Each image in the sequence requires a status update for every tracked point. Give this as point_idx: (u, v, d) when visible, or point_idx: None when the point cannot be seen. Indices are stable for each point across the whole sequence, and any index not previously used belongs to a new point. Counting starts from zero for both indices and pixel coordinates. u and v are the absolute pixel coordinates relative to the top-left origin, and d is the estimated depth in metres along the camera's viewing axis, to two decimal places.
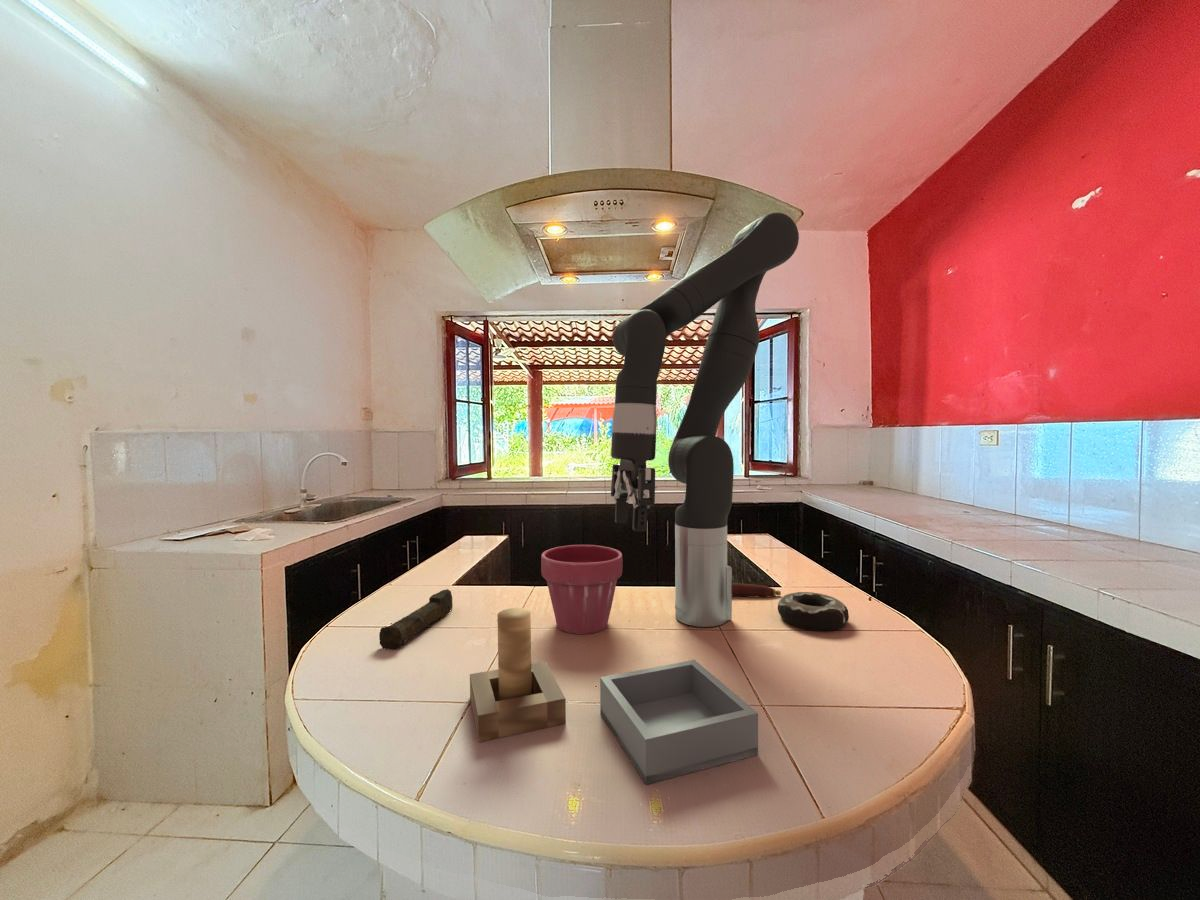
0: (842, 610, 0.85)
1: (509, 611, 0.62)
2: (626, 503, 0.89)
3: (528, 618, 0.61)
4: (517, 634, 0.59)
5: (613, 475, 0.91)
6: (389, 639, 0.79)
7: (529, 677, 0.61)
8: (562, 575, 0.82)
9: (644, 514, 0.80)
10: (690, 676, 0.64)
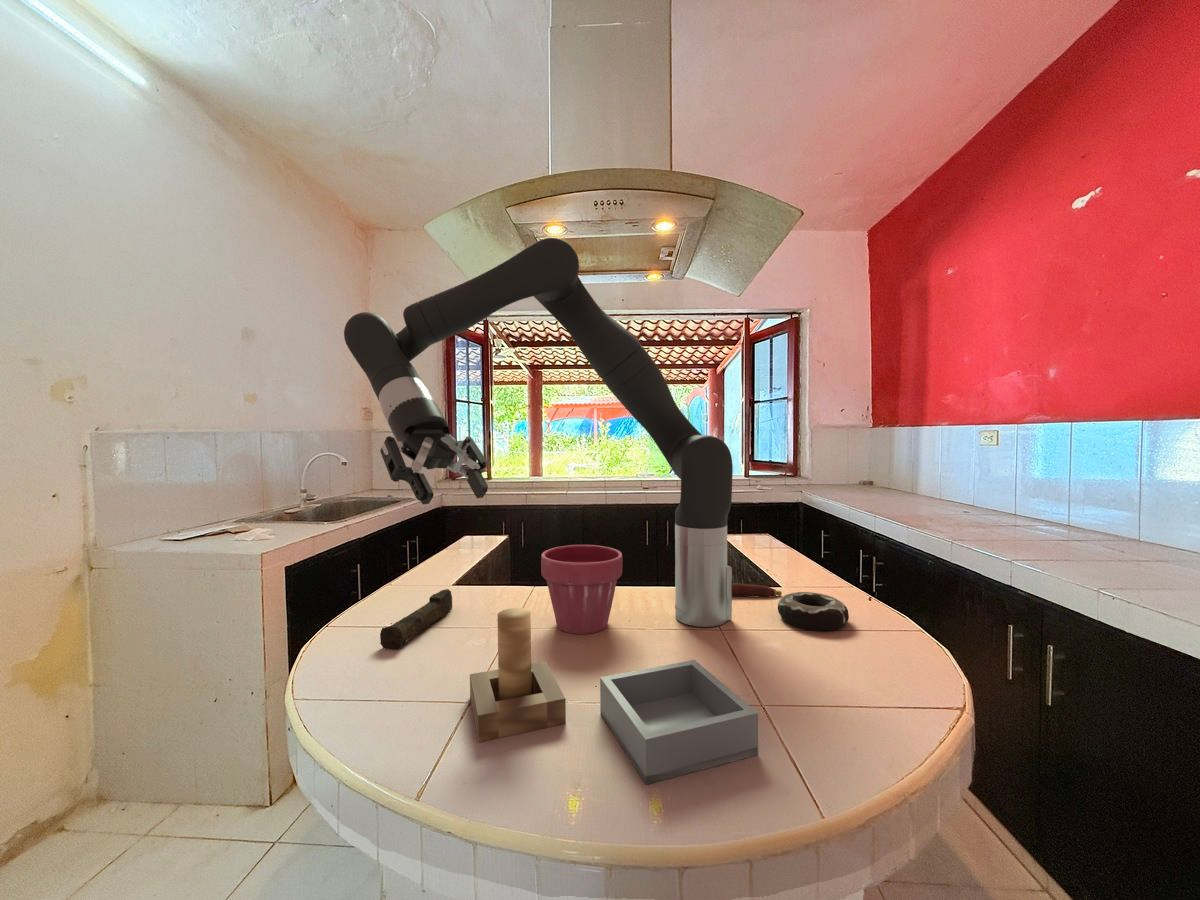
0: (842, 611, 0.85)
1: (509, 611, 0.62)
2: (472, 473, 0.72)
3: (528, 618, 0.61)
4: (517, 634, 0.59)
5: None
6: (390, 640, 0.79)
7: (529, 677, 0.61)
8: (562, 575, 0.82)
9: (414, 482, 0.65)
10: (690, 676, 0.64)
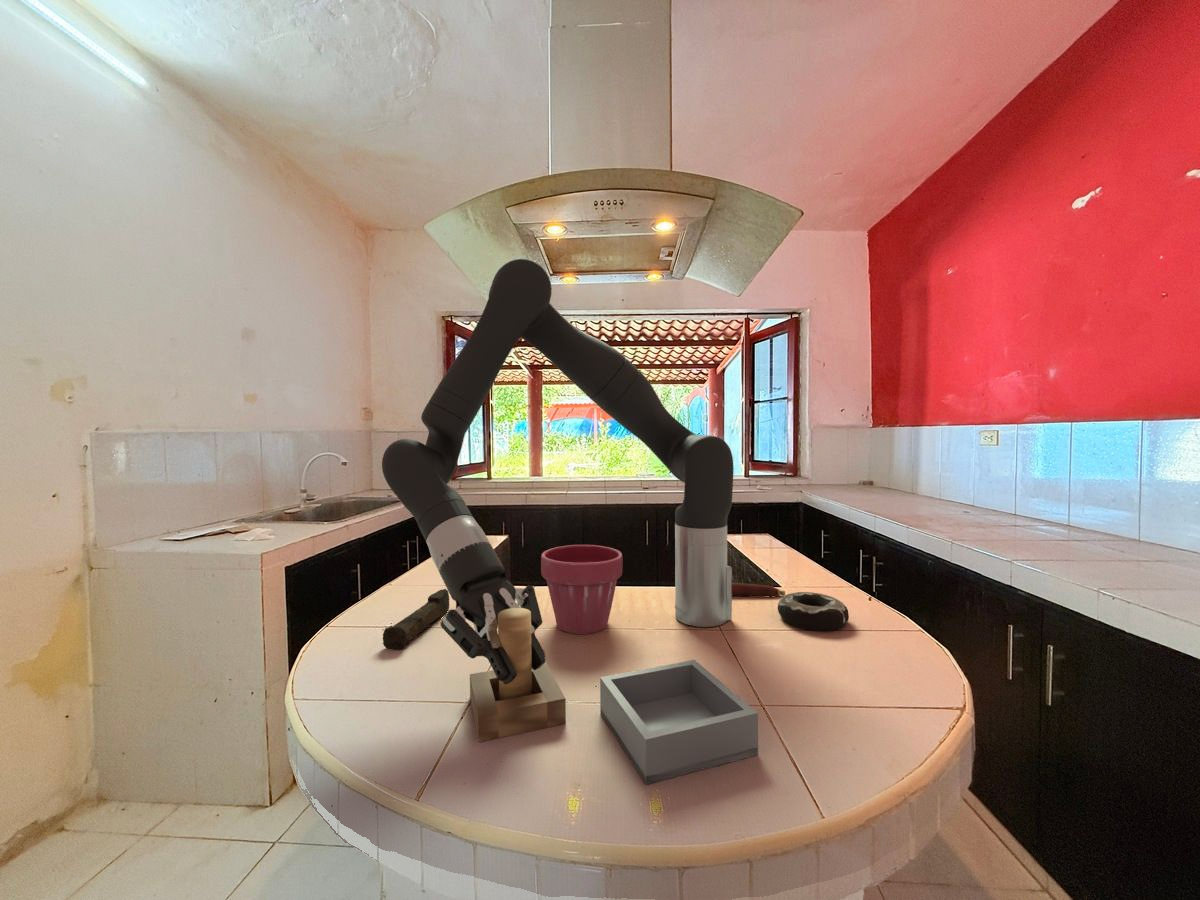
0: (842, 610, 0.85)
1: (509, 611, 0.62)
2: None
3: (528, 618, 0.61)
4: (517, 634, 0.59)
5: (523, 607, 0.68)
6: (393, 640, 0.79)
7: (529, 677, 0.61)
8: (562, 575, 0.82)
9: (494, 660, 0.59)
10: (690, 676, 0.64)
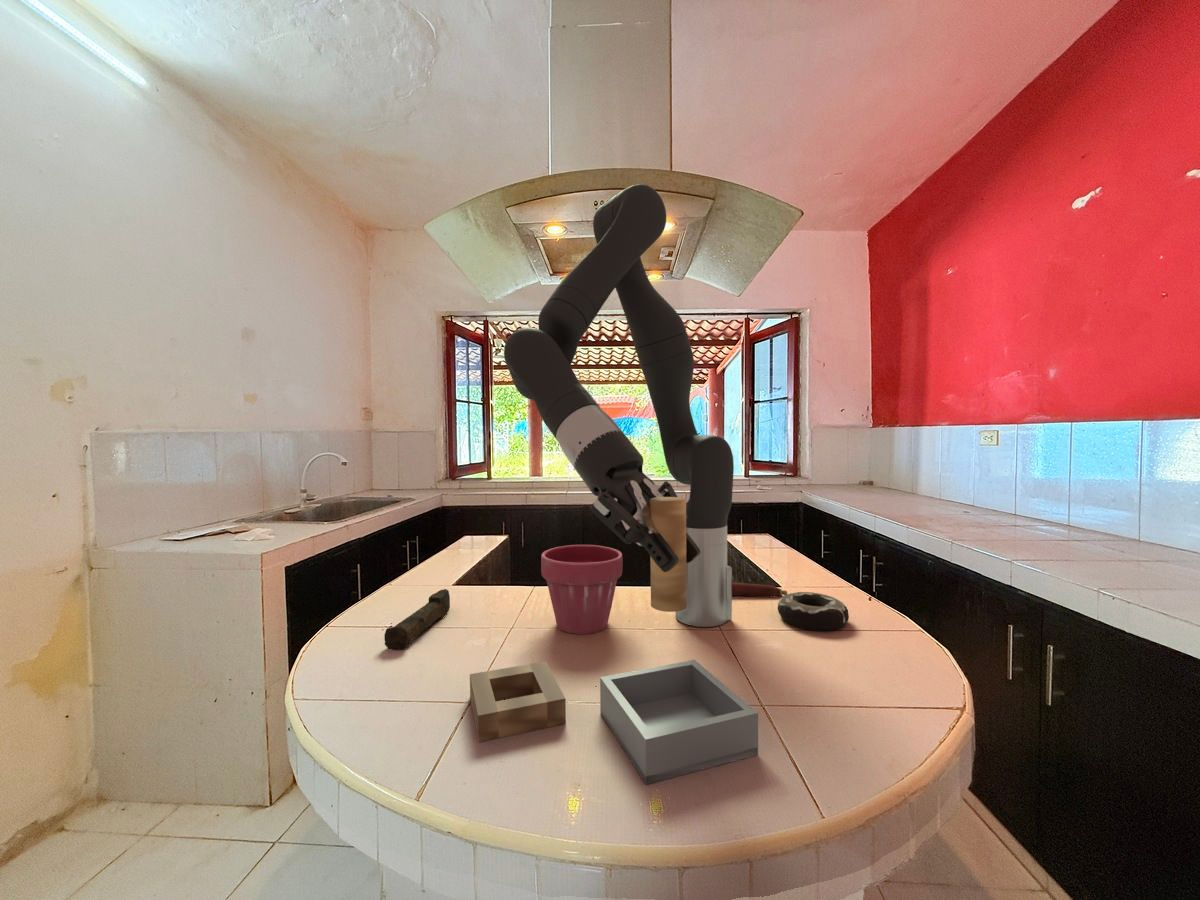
0: (842, 610, 0.85)
1: (660, 498, 0.57)
2: None
3: (685, 503, 0.55)
4: (676, 518, 0.54)
5: None
6: (395, 640, 0.79)
7: None
8: (562, 575, 0.82)
9: (653, 545, 0.53)
10: (690, 676, 0.64)
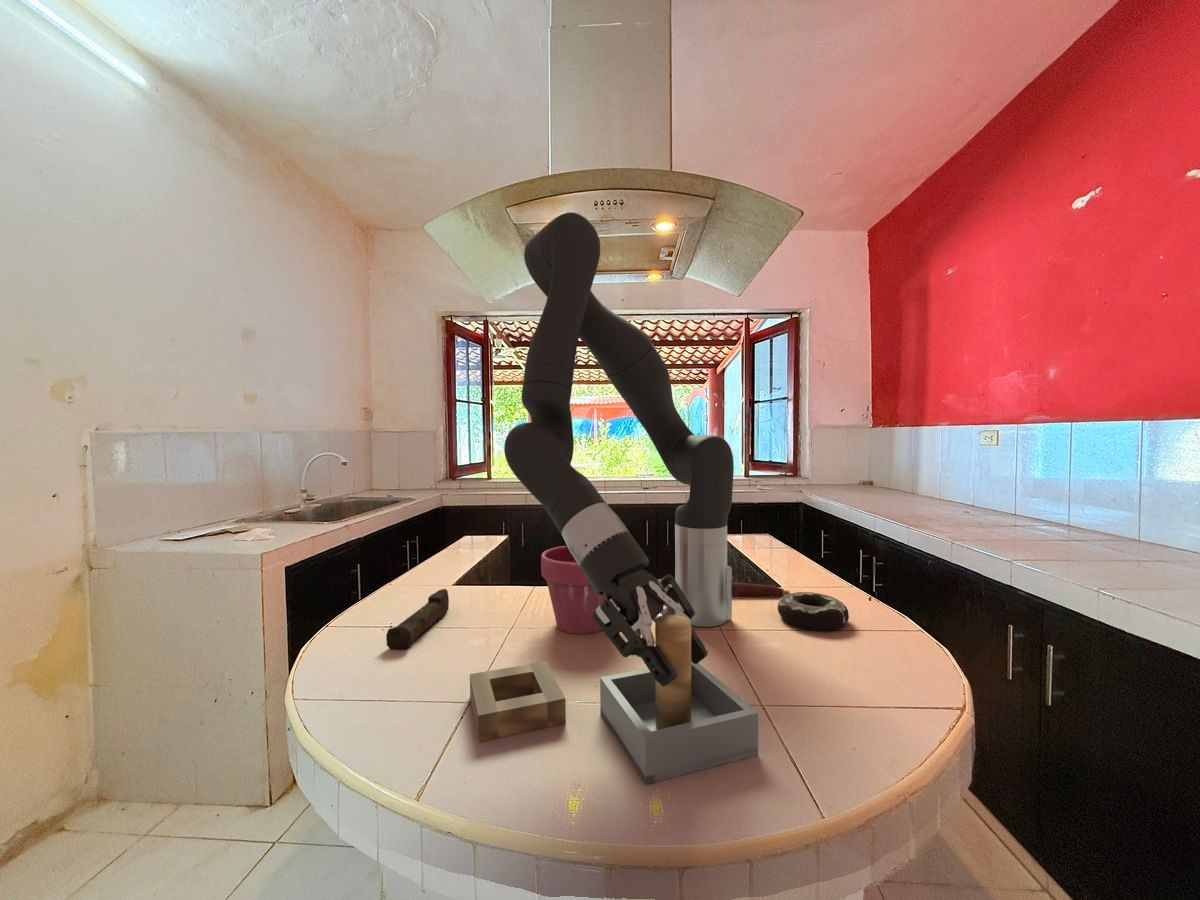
0: (842, 610, 0.85)
1: (665, 618, 0.57)
2: None
3: (690, 626, 0.55)
4: (682, 645, 0.54)
5: None
6: (397, 640, 0.79)
7: (690, 690, 0.56)
8: (562, 575, 0.82)
9: (651, 659, 0.53)
10: None
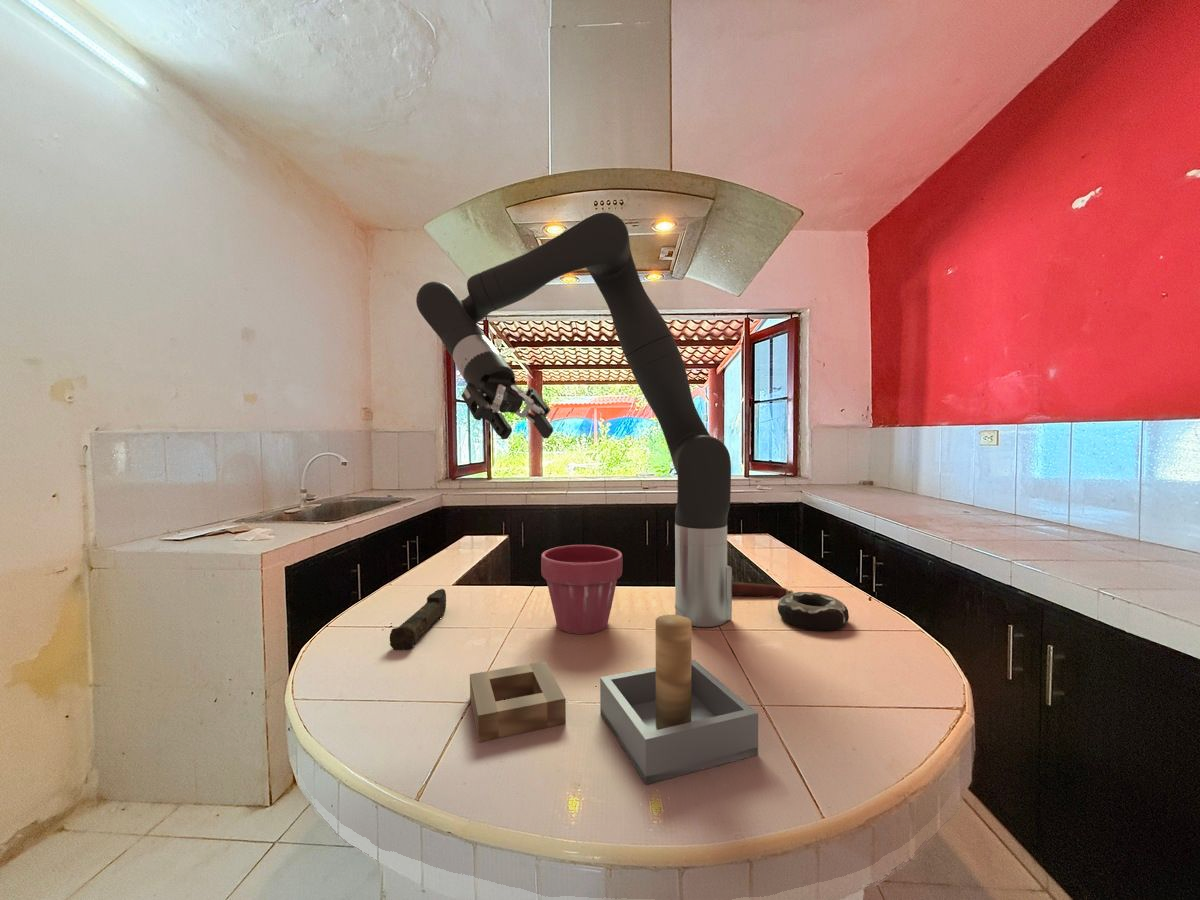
0: (842, 610, 0.85)
1: (666, 618, 0.57)
2: (539, 416, 0.82)
3: None
4: (682, 644, 0.54)
5: None
6: (401, 640, 0.78)
7: (690, 690, 0.56)
8: (562, 575, 0.82)
9: (494, 420, 0.75)
10: None
